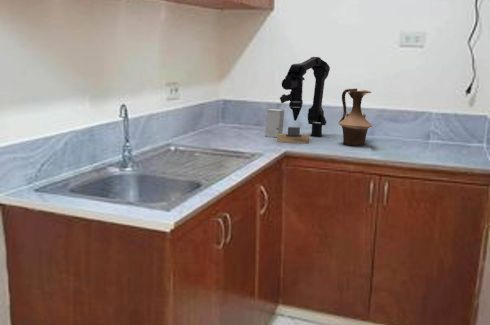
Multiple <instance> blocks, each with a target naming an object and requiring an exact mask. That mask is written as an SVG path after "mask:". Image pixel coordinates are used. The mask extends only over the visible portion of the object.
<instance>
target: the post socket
mask: <svg viewBox="0 0 490 325" xmlns="http://www.w3.org/2000/svg"><path fill="white" fill-rule="evenodd" d="M276 138H277V139H276V142H277V143H291V144H292V143H294V144H309V143H310V134H304V133H303V134H302V133H300V137H290V136H288V133H283V132H282V133H279V135H278V137H276Z"/></svg>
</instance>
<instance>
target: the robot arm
mask: <svg viewBox="0 0 490 325" xmlns="http://www.w3.org/2000/svg"><path fill="white" fill-rule="evenodd" d="M310 69H311V70H312V71H313V77H314V80H315V81H314V83H315V84H314V89H313V90H314V92H313V98H312V99H313V100H312V106H311V107H309V108H308V110H307V111H308V112H307V123H308V125H311V132H310V137H311V136H312V137H323V126H326V125H327V120H326V117H325V115H324V114H325V112H324V109H323V106H322V105H323V98H324V96H323V95H324V88H325V80H326V79H327V78H328V76H329V73H330V70H331V68H330V65H329V64H328V63H327V62H326V61H324V60H323V59H322V58H321V57H320V56H311V57H310V58H308V59H306V60H304V61H303V62H301V63H293V64H291V65H290V67H289V69H288V71H287V74H286V75H285V78H283V79H282V81H281V87H282V89H283V90H287V91H289V90H291V91H290V92H289V93H288V94H285V93H283V94H282V95H281V96H280V97H279V101H280V102H281V104H284V103H286V102H289V103H288V104H289V106H288V107H289V108H290V110H291V111H292V115H293V120H294V121H297V120H298V117H299V115H300V113H301V110H302V108H303V104H304V103H303V101H304V100H303V85H304V82H303V81H305V79H306V78H304V76H305V75H306V73H307V71H309V70H310Z"/></svg>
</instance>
